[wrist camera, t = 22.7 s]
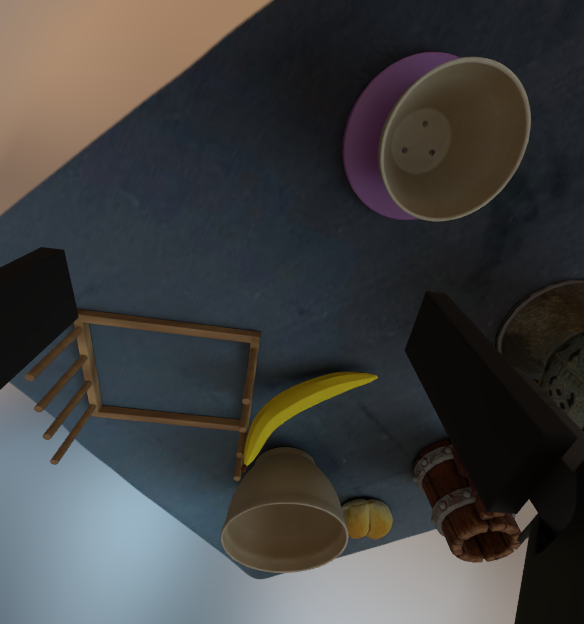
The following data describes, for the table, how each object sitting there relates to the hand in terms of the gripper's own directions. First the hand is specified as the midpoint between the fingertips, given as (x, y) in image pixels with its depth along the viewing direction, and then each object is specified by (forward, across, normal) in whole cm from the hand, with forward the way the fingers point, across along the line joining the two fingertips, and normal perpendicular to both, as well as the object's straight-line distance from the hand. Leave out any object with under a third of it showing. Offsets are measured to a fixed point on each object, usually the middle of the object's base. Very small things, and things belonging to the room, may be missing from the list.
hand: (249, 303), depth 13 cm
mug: (+22, +30, -35) cm, 51 cm away
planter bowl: (+22, +6, -40) cm, 46 cm away
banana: (+21, +5, -23) cm, 31 cm away
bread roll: (+22, +21, -50) cm, 59 cm away
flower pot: (+21, +12, +6) cm, 25 cm away
